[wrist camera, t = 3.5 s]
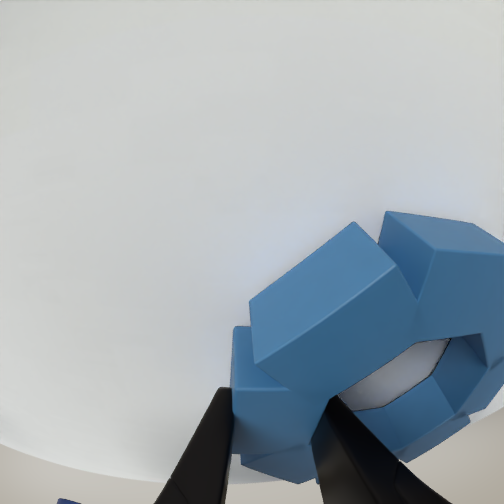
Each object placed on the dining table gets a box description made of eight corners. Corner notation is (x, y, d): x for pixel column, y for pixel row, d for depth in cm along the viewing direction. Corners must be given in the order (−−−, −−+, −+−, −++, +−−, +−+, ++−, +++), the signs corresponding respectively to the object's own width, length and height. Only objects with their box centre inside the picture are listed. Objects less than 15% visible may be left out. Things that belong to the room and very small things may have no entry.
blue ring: (430, 419, 12) (446, 452, 10) (227, 444, 11) (227, 490, 9) (527, 233, 8) (568, 260, 6) (241, 197, 7) (245, 236, 5)
